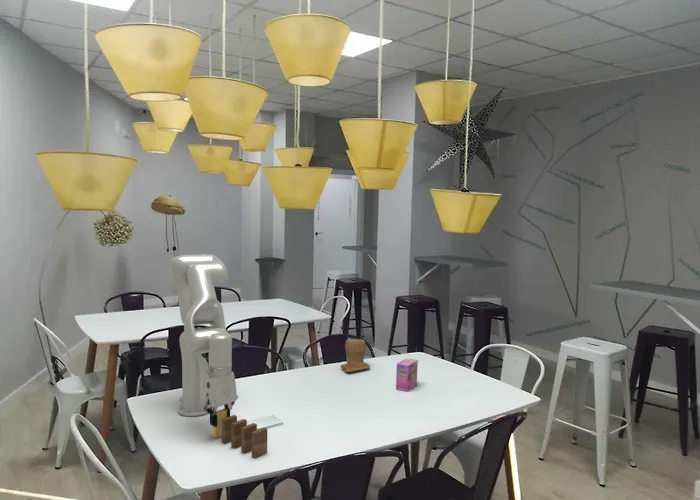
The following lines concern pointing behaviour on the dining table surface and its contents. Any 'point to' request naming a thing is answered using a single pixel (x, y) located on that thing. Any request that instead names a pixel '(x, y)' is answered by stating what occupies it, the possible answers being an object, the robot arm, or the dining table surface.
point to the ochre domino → (219, 422)
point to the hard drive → (266, 422)
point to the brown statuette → (355, 355)
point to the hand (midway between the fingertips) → (220, 422)
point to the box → (406, 374)
